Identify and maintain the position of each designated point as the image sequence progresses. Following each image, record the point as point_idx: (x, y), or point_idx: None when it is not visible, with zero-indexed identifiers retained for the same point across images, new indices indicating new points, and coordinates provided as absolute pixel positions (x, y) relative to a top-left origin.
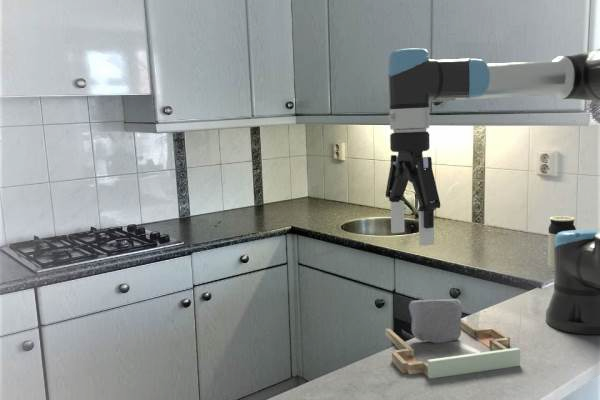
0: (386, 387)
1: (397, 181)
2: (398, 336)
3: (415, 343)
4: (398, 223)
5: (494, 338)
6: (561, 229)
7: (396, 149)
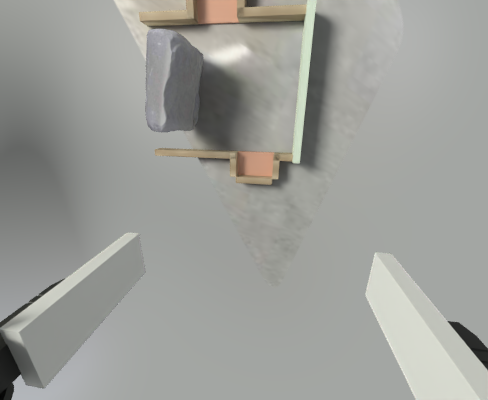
0: (298, 212)
1: None
2: (186, 150)
3: None
4: (120, 274)
5: None
6: None
7: None
